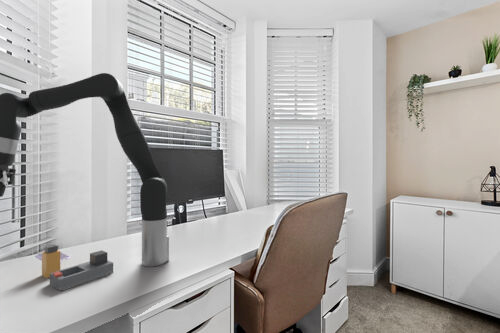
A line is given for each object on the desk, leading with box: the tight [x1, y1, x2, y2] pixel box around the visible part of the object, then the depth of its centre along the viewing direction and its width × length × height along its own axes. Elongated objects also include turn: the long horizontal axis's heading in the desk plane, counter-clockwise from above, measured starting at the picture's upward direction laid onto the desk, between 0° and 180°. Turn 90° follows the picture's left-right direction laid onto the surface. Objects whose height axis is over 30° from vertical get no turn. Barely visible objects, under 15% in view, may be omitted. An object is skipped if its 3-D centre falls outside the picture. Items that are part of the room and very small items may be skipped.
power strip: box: [49, 250, 114, 292], centre depth 85 cm, size 16×8×7 cm, turn 146°
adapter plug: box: [41, 243, 61, 279], centre depth 88 cm, size 4×4×10 cm
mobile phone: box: [35, 251, 71, 261], centre depth 104 cm, size 8×1×15 cm
